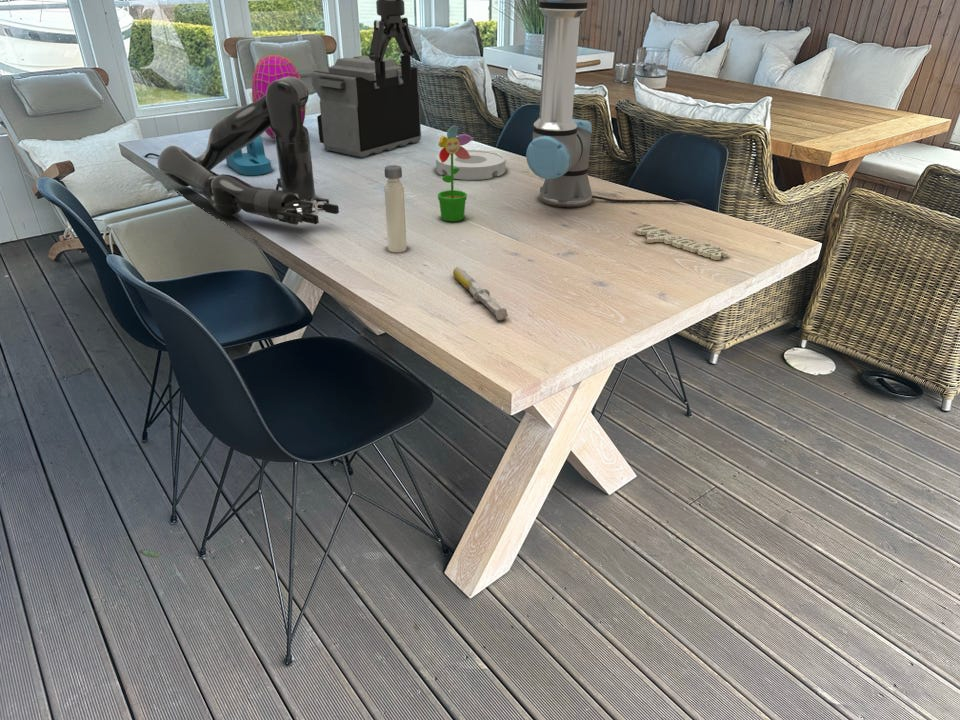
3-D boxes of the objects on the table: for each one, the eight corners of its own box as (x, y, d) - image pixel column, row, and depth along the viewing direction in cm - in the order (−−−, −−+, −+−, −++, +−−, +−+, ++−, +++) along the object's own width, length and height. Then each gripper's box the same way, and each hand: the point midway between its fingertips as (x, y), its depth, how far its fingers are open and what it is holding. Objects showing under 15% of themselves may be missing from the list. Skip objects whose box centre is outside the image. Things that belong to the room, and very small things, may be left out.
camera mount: (227, 164, 233) (221, 132, 227) (257, 160, 238) (252, 129, 233) (244, 176, 220) (239, 143, 215) (276, 172, 225) (271, 139, 220)
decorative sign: (622, 230, 178) (646, 222, 184) (622, 233, 179) (645, 225, 184) (711, 260, 161) (734, 250, 167) (711, 264, 162) (733, 253, 167)
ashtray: (439, 160, 240) (438, 148, 238) (505, 161, 240) (505, 150, 238) (433, 179, 220) (432, 166, 218) (505, 180, 220) (505, 168, 218)
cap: (385, 179, 157) (384, 169, 156) (384, 174, 161) (384, 165, 159) (402, 178, 158) (401, 169, 157) (401, 174, 161) (401, 164, 160)
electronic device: (383, 133, 276) (378, 52, 261) (425, 141, 265) (422, 56, 250) (314, 150, 251) (304, 61, 235) (358, 160, 240) (350, 67, 224)
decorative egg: (293, 132, 276) (283, 50, 261) (319, 140, 264) (310, 56, 249) (249, 139, 265) (236, 54, 250) (273, 148, 253) (261, 60, 238)
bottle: (388, 252, 166) (383, 172, 156) (387, 246, 170) (382, 166, 160) (407, 252, 167) (403, 171, 157) (406, 245, 170) (402, 166, 160)
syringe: (449, 274, 155) (449, 263, 153) (465, 272, 156) (464, 260, 154) (490, 323, 135) (491, 310, 133) (508, 319, 136) (508, 307, 134)
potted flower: (443, 224, 183) (442, 128, 170) (432, 216, 189) (429, 122, 176) (475, 219, 187) (476, 124, 174) (462, 211, 193) (462, 119, 180)
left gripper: (295, 210, 185) (345, 220, 179) (259, 226, 174) (312, 238, 168) (292, 183, 181) (343, 192, 176) (255, 198, 170) (308, 208, 164)
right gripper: (402, -4, 195) (405, 76, 206) (351, 0, 176) (358, 88, 187) (425, -3, 193) (427, 78, 204) (376, 1, 173) (381, 90, 184)
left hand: (327, 214), depth 172 cm, fingers open, 8 cm apart
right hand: (394, 83), depth 195 cm, fingers open, 13 cm apart
